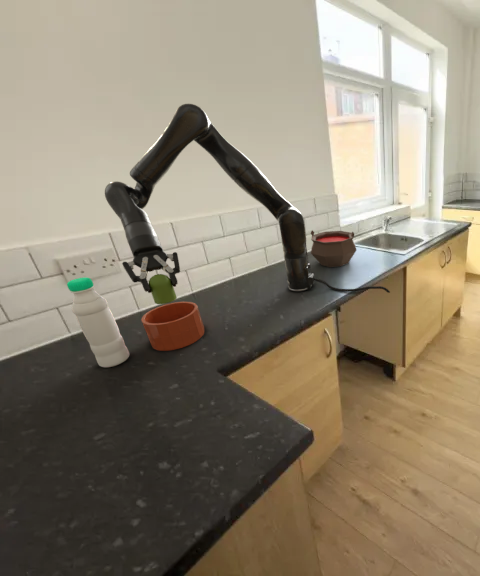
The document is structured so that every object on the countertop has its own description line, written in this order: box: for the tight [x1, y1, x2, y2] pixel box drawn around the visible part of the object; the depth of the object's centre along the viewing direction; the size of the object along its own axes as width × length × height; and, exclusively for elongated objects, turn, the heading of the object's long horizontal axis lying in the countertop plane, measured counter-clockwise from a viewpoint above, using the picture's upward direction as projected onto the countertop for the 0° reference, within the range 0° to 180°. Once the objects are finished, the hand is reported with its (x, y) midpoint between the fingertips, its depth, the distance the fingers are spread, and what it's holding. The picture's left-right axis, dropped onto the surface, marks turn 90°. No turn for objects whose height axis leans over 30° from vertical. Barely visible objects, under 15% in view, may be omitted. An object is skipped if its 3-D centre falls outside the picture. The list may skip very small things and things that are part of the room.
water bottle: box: [66, 276, 130, 368], centre depth 85 cm, size 7×7×25 cm
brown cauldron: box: [310, 229, 357, 268], centre depth 158 cm, size 24×24×16 cm
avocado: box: [148, 273, 178, 305], centre depth 94 cm, size 6×6×8 cm
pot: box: [140, 301, 205, 352], centre depth 99 cm, size 15×15×9 cm
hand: (162, 288), depth 92 cm, fingers closed on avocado, 5 cm apart
